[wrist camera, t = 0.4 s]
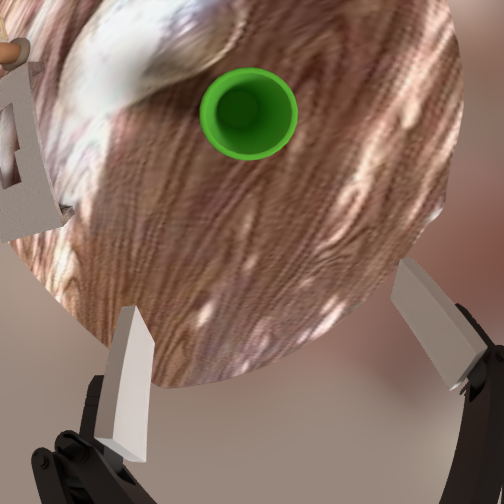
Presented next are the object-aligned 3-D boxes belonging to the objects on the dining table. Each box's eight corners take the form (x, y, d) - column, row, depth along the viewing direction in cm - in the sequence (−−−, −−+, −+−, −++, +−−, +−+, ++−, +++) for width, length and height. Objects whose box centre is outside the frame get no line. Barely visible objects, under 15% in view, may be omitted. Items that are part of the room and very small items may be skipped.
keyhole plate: (-17, 100, 22) (-34, 104, 18) (43, 62, 23) (27, 61, 19) (15, 230, 35) (2, 243, 31) (74, 213, 36) (62, 226, 32)
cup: (282, 129, 35) (309, 143, 25) (216, 152, 35) (219, 174, 26) (261, 67, 30) (282, 56, 21) (192, 90, 30) (184, 87, 21)
